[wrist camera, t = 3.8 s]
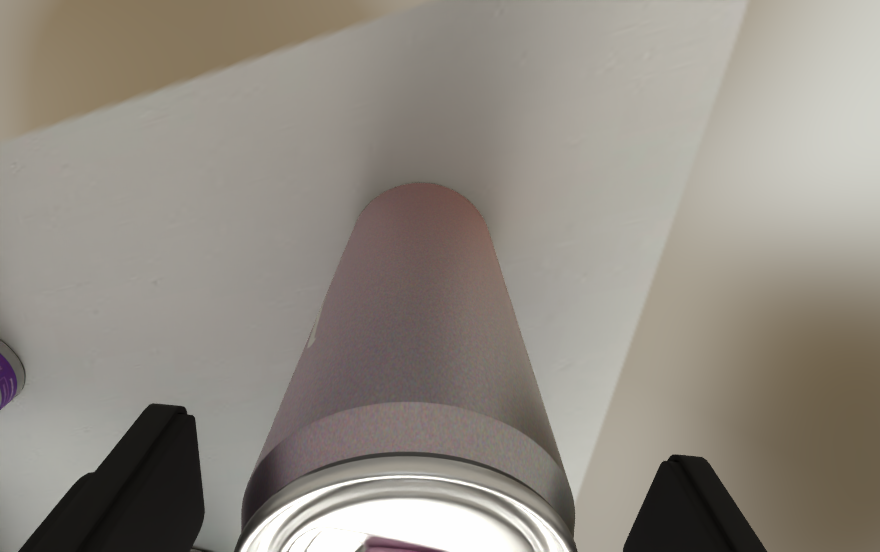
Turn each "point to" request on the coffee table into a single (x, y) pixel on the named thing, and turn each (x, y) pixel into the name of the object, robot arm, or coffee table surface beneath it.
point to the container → (9, 375)
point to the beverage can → (412, 403)
